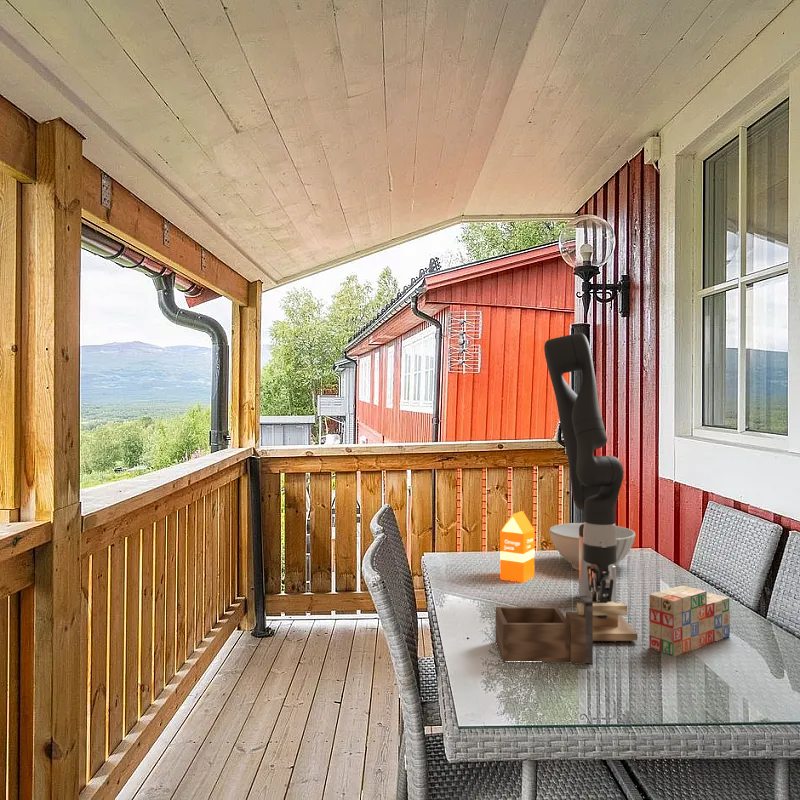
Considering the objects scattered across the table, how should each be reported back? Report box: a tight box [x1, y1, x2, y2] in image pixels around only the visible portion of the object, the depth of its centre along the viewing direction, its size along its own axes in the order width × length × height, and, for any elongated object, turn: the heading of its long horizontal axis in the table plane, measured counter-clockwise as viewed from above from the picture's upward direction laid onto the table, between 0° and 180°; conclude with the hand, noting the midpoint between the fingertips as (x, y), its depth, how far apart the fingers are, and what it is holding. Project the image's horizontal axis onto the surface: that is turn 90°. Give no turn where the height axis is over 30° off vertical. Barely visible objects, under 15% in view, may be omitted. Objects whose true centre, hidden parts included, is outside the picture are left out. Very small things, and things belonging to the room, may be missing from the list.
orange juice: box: [499, 510, 535, 584], centre depth 212 cm, size 8×9×20 cm
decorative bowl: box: [548, 522, 636, 571], centre depth 224 cm, size 27×27×12 cm
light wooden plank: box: [576, 602, 628, 616], centre depth 146 cm, size 10×2×2 cm, turn 90°
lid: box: [564, 601, 638, 643], centre depth 162 cm, size 14×12×8 cm
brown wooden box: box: [495, 596, 594, 665], centre depth 150 cm, size 18×13×13 cm
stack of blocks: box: [648, 585, 731, 657], centre depth 157 cm, size 21×6×12 cm, turn 124°
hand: (599, 614), depth 162 cm, fingers open, 3 cm apart
